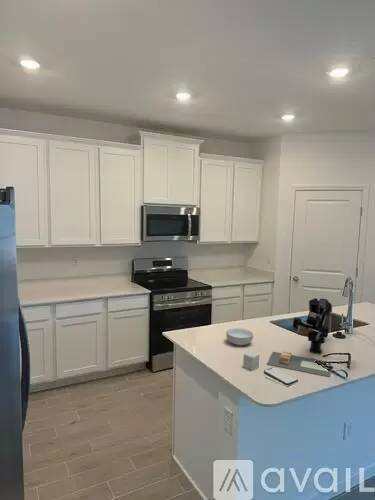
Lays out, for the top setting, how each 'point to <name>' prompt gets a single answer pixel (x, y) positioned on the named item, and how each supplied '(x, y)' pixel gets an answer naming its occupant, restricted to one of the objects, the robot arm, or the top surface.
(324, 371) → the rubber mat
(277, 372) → the smartphone
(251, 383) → the top surface
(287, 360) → the two-tone wooden plank
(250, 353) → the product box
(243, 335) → the cereal bowl
